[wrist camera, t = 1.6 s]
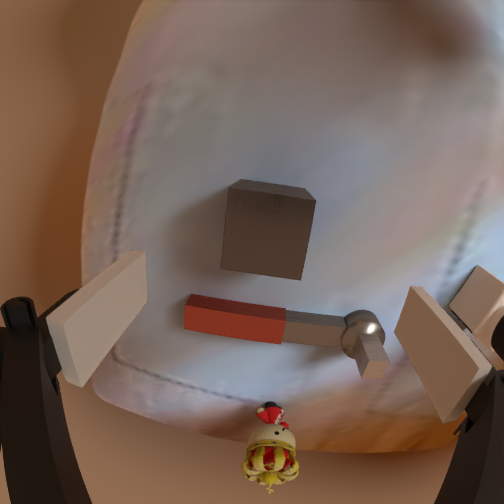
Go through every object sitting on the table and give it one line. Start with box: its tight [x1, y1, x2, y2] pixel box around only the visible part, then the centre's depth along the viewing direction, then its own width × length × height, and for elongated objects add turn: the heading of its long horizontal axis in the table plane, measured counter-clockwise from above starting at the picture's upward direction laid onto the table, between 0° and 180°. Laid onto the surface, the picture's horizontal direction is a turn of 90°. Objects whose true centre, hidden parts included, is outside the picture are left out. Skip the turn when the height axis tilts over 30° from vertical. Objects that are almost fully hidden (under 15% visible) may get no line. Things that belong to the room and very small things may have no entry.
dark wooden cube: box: [221, 179, 316, 280], centre depth 25 cm, size 6×6×8 cm
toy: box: [241, 402, 299, 494], centre depth 31 cm, size 7×7×15 cm
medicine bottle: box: [448, 265, 504, 361], centre depth 25 cm, size 7×7×12 cm
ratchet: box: [184, 294, 390, 379], centre depth 29 cm, size 23×5×8 cm, turn 83°
